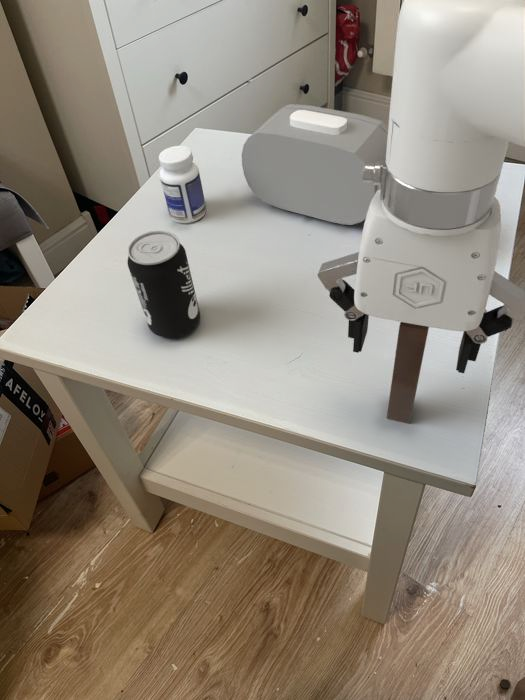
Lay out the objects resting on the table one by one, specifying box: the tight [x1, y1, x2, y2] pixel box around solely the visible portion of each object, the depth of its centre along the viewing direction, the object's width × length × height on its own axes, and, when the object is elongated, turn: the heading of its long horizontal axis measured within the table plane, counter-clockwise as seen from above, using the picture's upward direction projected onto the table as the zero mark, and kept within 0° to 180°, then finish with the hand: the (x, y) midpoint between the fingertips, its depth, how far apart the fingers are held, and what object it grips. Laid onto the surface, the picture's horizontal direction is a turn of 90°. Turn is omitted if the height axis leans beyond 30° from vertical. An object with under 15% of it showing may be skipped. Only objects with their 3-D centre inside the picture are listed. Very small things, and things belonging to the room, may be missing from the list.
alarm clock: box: [241, 103, 389, 226], centre depth 80 cm, size 21×10×13 cm, turn 60°
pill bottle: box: [158, 145, 207, 224], centre depth 83 cm, size 6×6×10 cm
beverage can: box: [127, 230, 201, 339], centre depth 66 cm, size 7×7×12 cm
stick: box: [386, 322, 430, 424], centre depth 54 cm, size 2×2×14 cm
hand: (409, 350), depth 52 cm, fingers open, 8 cm apart
